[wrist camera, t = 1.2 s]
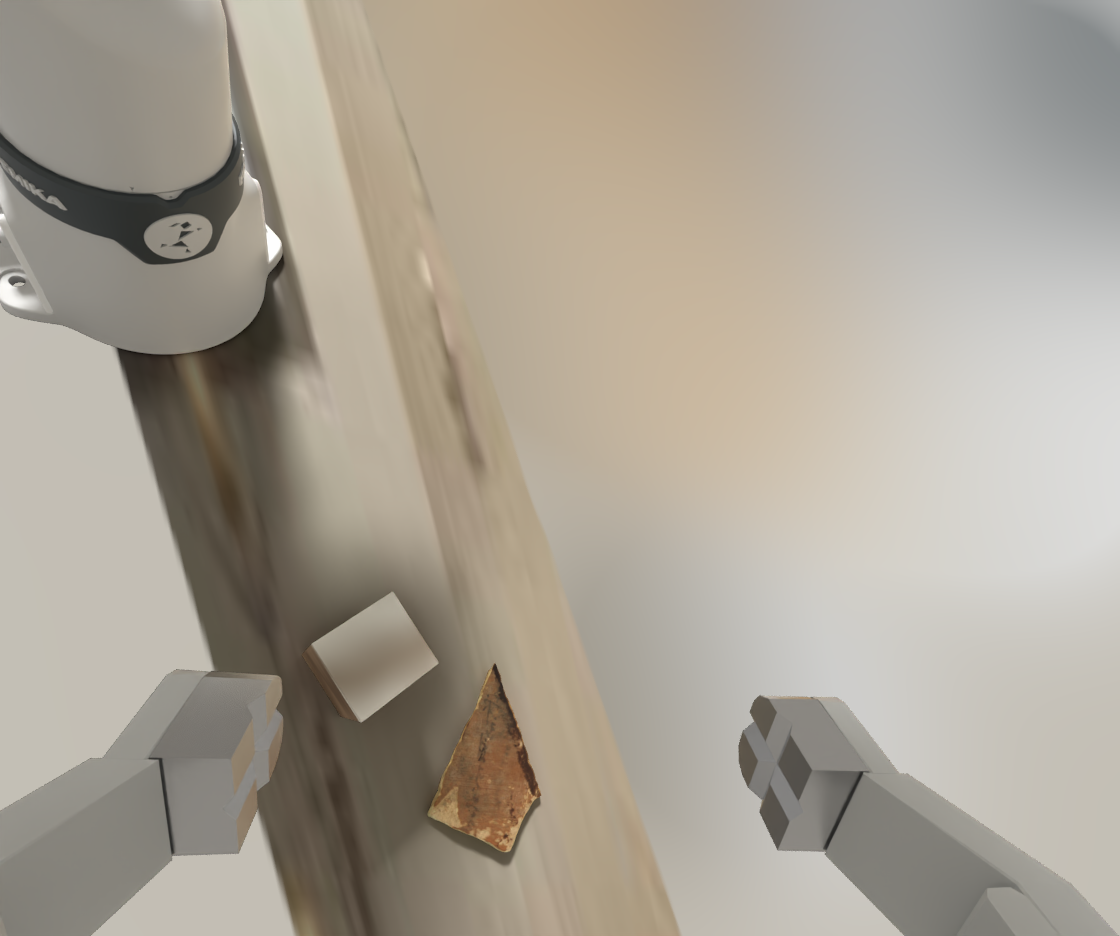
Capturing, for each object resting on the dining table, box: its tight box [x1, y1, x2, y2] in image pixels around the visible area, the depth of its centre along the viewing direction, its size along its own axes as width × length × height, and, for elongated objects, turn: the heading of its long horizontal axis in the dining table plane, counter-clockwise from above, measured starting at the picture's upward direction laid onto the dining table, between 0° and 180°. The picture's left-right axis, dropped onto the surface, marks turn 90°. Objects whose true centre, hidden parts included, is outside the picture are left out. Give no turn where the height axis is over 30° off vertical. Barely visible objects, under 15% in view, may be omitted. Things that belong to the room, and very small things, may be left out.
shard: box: [427, 663, 541, 852], centre depth 41 cm, size 11×8×2 cm
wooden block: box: [302, 591, 439, 723], centre depth 35 cm, size 5×5×10 cm
